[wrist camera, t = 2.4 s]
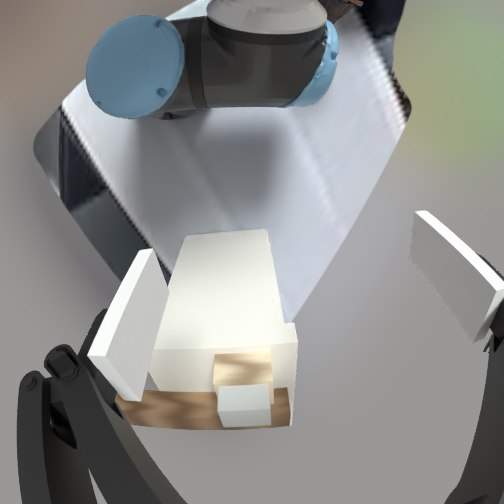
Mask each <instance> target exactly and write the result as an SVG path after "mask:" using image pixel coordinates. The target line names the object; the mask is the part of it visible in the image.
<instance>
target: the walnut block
mask: <svg viewBox="0 0 504 504" xmlns="http://www.w3.org/2000/svg"><path fill="white" fill-rule="evenodd" d="M273 391H274V404H270V409H271V425H264V426H248V427H223V424H222V422H221V419H220V417H219V414H218V411H217V408H218V398H217V395H216V392H171V391H150V390H143V395H142V399H141V401H127V400H123V399H122V397H121V396H120V395H119V394H118V393H117V394H116V397H115V401H116V402H117V403H118V404H119V406H120V408H121V410H122V412H123V413H124V415H125V417H126V419H127V420H128V422H129V424H132V425H139V426H148V427H158V428H171V429H189V430H241V429H260V428H273V427H283V426H290V417H291V411H290V403H289V396H288V389H287V387H285V388H275V389H273Z"/></svg>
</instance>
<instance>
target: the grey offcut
mask: <svg viewBox="0 0 504 504" xmlns="http://www.w3.org/2000/svg"><path fill="white" fill-rule="evenodd" d="M217 411H218V414H219V417H220V419H221V422H222V424H223V427H248V426H264V425H271V409H270V398H269V386H268V384H255V385H239V386H218V408H217Z"/></svg>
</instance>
